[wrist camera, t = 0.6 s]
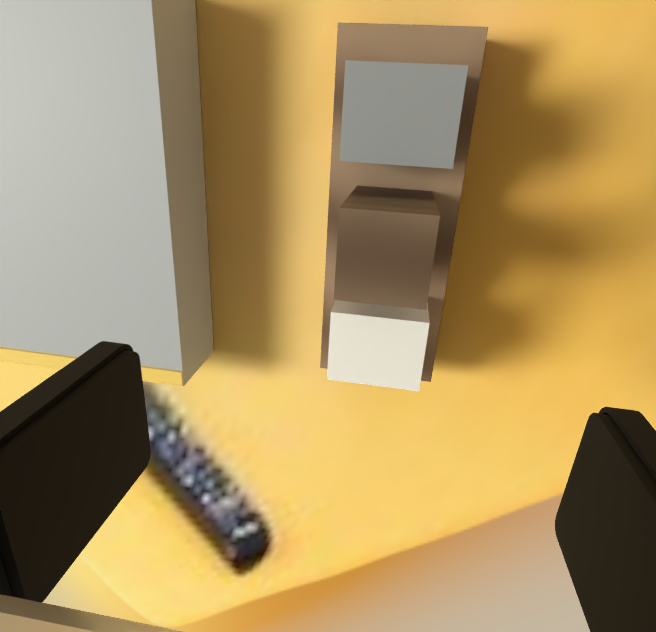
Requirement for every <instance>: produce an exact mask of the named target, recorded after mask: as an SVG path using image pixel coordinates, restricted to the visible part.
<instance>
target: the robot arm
mask: <svg viewBox="0 0 656 632" xmlns="http://www.w3.org/2000/svg"><path fill="white" fill-rule="evenodd" d="M150 454H151V452H150V441H149V433H148V424H147V415H146V407H145V398H144V389H143V381H142V372H141V363H140V357H139V355H138V353H137V352H134V351H133V349H132V347H131V346H130V345H129V344H123V343H115V342H107V341H101V342H99V343H98V344H96V345H95V346H93V347H92V348H90V349H89V350H88V351H86V352H85V353H83V354H82V355H80V356H79V357H78V358H76V359H75V360H73V361H72V362H71V363H69V364H68V365H66V366H65V367H63V368H62V369H61V370H59V371H58V372H56V373H55V374H53V375H52V376H51V377H49V378H48V379H46V380H45V381H43V382H42V383H41V384H39V385H38V386H36V387H35V388H34V389H32V390H31V391H29V392H28V393H26V394H25V395H24V396H22V397H21V398H19V399H18V400H16V401H15V402H14V403H12V404H11V405H9V406H8V407H7V408H5V409H4V410H2V411H1V412H0V632H181V631H177V630H172V629H168V628H163V627H158V626H153V625H148V624H143V623H138V622H133V621H128V620H124V619H119V618H114V617H109V616H104V615H99V614H95V613H90V612H85V611H80V610H75V609H70V608H65V607H60V606H56V605H50V604H46V603H42V602H43V601H44V600H45V599H46V597H47V596H48V595H49V593H50V592H51V591H52V589H53V588H54V587H55V586H56V584H57V583H58V582H59V580H60V579H61V578H62V576H63V575H64V574H65V572H66V571H67V570H68V569H69V567H70V566H71V565H72V563H73V562H74V561H75V559H76V558H77V557H78V556H79V554H80V553H81V552H82V550H83V549H84V548H85V546H86V545H87V544H88V543H89V541H90V540H91V539H92V537H93V536H94V535H95V533H96V532H97V531H98V530H99V528H100V527H101V526H102V524H103V523H104V522H105V520H106V519H107V518H108V516H109V515H110V514H111V513H112V511H113V510H114V509H115V507H116V506H117V505H118V503H119V502H120V501H121V500H122V498H123V497H124V496H125V494H126V493H127V492H128V490H129V489H130V488H131V487H132V485H133V484H134V483H135V481H136V480H137V479H138V477H139V476H140V475H141V473H142V472H143V471H144V470H145V468H146V467H147V465H148V462H149V459H150ZM555 531H556V536H557V539H558V542H559V545H560V548H561V550H562V553H563V556H564V559H565V562H566V564H567V567H568V570H569V573H570V576H571V578H572V581H573V584H574V587H575V590H576V593H577V595H578V598H579V601H580V604H581V607H582V609H583V612H584V615H585V618H586V621H587V623H588V626H589V629H590V632H656V431H655V430H654V428H653V427H652V426H651V425H650V423H649V422H648V421H647V420H646V418H645V417H644V416H643V415H642V414H641V413H640V412H639V411H634V410H626V409H618V408H611V407H604V408H602V409H601V410H600V412H599V413H592V414H591V415H590V416H589V419H588V421H587V424H586V427H585V430H584V433H583V436H582V439H581V442H580V445H579V448H578V451H577V454H576V457H575V460H574V464H573V467H572V470H571V473H570V476H569V479H568V482H567V485H566V488H565V491H564V494H563V497H562V500H561V503H560V506H559V509H558V512H557V515H556V520H555Z"/></svg>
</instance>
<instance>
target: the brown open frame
mask: <svg viewBox="0 0 656 632" xmlns="http://www.w3.org/2000/svg"><path fill="white" fill-rule="evenodd" d="M487 31H488V27H468V26H435V25H401V24H368V23H338V34H337V54H336V73H335V92H334V112H333V131H332V151H331V170H330V189H329V209H328V228H327V248H326V267H325V287H324V306H323V325H322V345H321V364H320V368H326V369H327V368H328V351H329V334H330V317H331V310H332V308H333V305H334V303H335V301H336V300H339V301H348V302H357V303H366V304H376V305H385V306H394V307H404V308H413V309H422V310H426V309H427V302H428V312H429V322H430V323H429V330H428V336H427V343H426V350H425V356H424V363H423V369H422V376H421V381H429V382H431V377H432V371H433V365H434V359H435V352H436V346H437V340H438V334H439V328H440V322H441V315H442V309H443V303H444V297H445V291H446V284H447V278H448V272H449V266H450V260H451V254H452V247H453V241H454V235H455V229H456V223H457V216H458V210H459V204H460V198H461V192H462V186H463V179H464V173H465V167H466V161H467V155H468V148H469V142H470V136H471V130H472V124H473V118H474V111H475V105H476V99H477V93H478V87H479V80H480V74H481V68H482V62H483V56H484V50H485V43H486V37H487ZM345 60H351V61H375V62H400V63H424V64H449V65H468V71H467V78H466V85H465V91H464V98H463V104H462V111H461V118H460V124H459V131H458V137H457V144H456V151H455V157H454V164H453V169H446V168H432V167H417V166H403V165H388V164H374V163H359V162H345V161H339V160H340V143H341V126H342V109H343V92H344V75H345Z"/></svg>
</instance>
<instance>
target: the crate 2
mask: <svg viewBox="0 0 656 632" xmlns="http://www.w3.org/2000/svg"><path fill="white" fill-rule="evenodd" d="M429 323H430V322H429V312H428V302H427V309H426V310H422V309H413V308H404V307H394V306H385V305H376V304H366V303H357V302H348V301H339V300H336V301H335V303H334V305H333V308H332V310H331V317H330V334H329V351H328V368H327V379H328V380H336V381H344V382H351V383H359V384H367V385H374V386H382V387H390V388H397V389H405V390H413V391H419V389H420V382H421V376H422V369H423V363H424V356H425V350H426V343H427V336H428V330H429Z"/></svg>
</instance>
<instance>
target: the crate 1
mask: <svg viewBox="0 0 656 632" xmlns="http://www.w3.org/2000/svg"><path fill="white" fill-rule="evenodd" d="M467 71H468V65H449V64H424V63H400V62H375V61H351V60H345V75H344V92H343V109H342V126H341V143H340V160H339V161H345V162H359V163H374V164H388V165H403V166H417V167H432V168H446V169H453V164H454V157H455V151H456V144H457V137H458V131H459V124H460V118H461V111H462V104H463V98H464V91H465V85H466V78H467Z"/></svg>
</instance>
